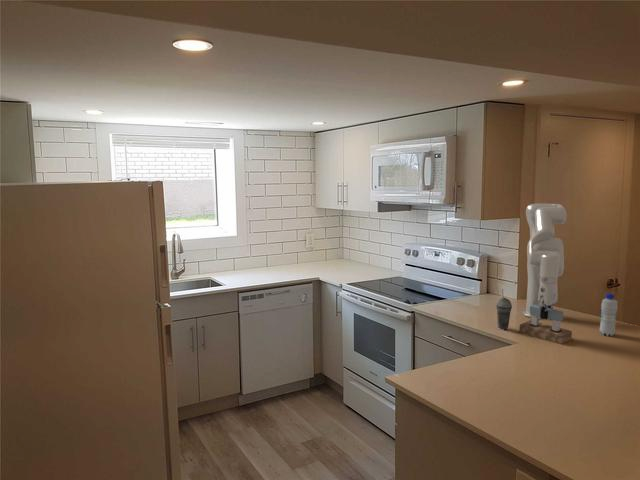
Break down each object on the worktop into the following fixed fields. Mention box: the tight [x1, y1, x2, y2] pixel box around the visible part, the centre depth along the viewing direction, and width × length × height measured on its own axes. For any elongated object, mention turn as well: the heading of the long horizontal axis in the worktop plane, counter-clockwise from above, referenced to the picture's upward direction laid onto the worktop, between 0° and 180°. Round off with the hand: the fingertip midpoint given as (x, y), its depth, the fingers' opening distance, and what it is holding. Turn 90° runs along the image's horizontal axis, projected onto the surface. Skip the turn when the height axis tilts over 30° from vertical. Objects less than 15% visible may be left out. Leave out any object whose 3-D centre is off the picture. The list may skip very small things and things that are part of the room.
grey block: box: [530, 305, 564, 331], centre depth 223 cm, size 14×4×9 cm, turn 38°
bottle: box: [599, 293, 618, 337], centre depth 224 cm, size 7×7×20 cm
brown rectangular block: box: [518, 320, 573, 345], centre depth 224 cm, size 20×10×4 cm, turn 38°
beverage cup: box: [495, 288, 513, 330], centre depth 233 cm, size 7×7×20 cm
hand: (545, 317), depth 223 cm, fingers closed on grey block, 3 cm apart
